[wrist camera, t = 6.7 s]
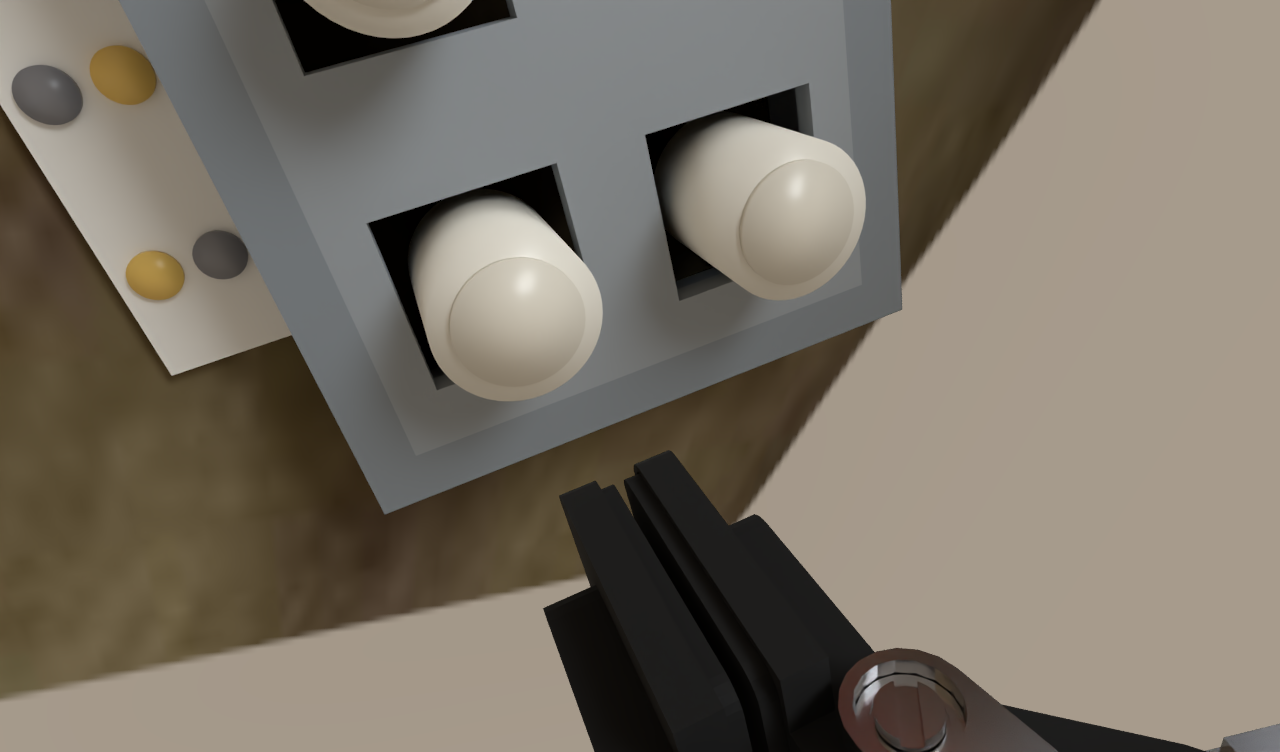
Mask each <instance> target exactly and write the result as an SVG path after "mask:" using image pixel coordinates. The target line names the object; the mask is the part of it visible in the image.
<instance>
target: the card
mask: <svg viewBox="0 0 1280 752" xmlns="http://www.w3.org/2000/svg"><path fill="white" fill-rule="evenodd" d="M0 105H1V107H2V108H3V110H4V111H5V113H6V115H7V116H8V118H9V119H10V121H11V122H12V124H13V126H14V127H15V129H16V130H17V132H18V134H19V135H20V137H21V138H22V140H23V141H24V143H25V145H26V146H27V148H28V149H29V151H30V153H31V154H32V156H33V157H34V159H35V160H36V162H37V164H38V165H39V167H40V168H41V170H42V172H43V173H44V175H45V176H46V178H47V179H48V181H49V183H50V184H51V186H52V187H53V189H54V190H55V192H56V194H57V195H58V197H59V198H60V200H61V202H62V203H63V205H64V206H65V208H66V209H67V211H68V213H69V214H70V216H71V217H72V219H73V221H74V222H75V224H76V225H77V227H78V228H79V230H80V232H81V233H82V235H83V236H84V238H85V239H86V241H87V243H88V244H89V246H90V247H91V249H92V251H93V252H94V254H95V255H96V257H97V258H98V260H99V262H100V263H101V265H102V266H103V268H104V270H105V271H106V273H107V274H108V276H109V277H110V279H111V281H112V282H113V284H114V285H115V287H116V288H117V290H118V292H119V293H120V295H121V296H122V298H123V300H124V301H125V303H126V304H127V306H128V307H129V309H130V311H131V312H132V314H133V315H134V317H135V319H136V320H137V322H138V323H139V325H140V326H141V328H142V330H143V331H144V333H145V334H146V336H147V337H148V339H149V341H150V342H151V344H152V345H153V347H154V349H155V350H156V352H157V353H158V355H159V356H160V358H161V360H162V361H163V363H164V364H165V366H166V368H167V369H168V371H169V372H170V374H171V375H172V376H173V375H176V374H179V373H182V372H185V371H187V370H190V369H193V368H196V367H199V366H202V365H205V364H208V363H211V362H214V361H217V360H220V359H223V358H226V357H229V356H232V355H234V354H237V353H240V352H243V351H246V350H249V349H252V348H255V347H258V346H261V345H264V344H267V343H270V342H273V341H276V340H279V339H281V338H284V337H287V336H290V335H292V334H291V332H290V330H289V328H288V327H287V325H286V323H285V321H284V319H283V317H282V315H281V313H280V311H279V309H278V307H277V305H276V303H275V301H274V300H273V298H272V296H271V294H270V292H269V290H268V288H267V286H266V284H265V282H264V280H263V278H262V276H261V274H260V272H259V271H258V269H257V267H256V265H255V263H254V261H253V259H252V257H251V255H250V253H249V251H248V249H247V247H246V245H245V244H244V242H243V240H242V238H241V236H240V234H239V232H238V230H237V228H236V226H235V224H234V222H233V220H232V218H231V216H230V215H229V213H228V211H227V209H226V207H225V205H224V203H223V201H222V199H221V197H220V195H219V193H218V191H217V189H216V188H215V186H214V184H213V182H212V180H211V178H210V176H209V174H208V172H207V170H206V168H205V166H204V164H203V162H202V160H201V159H200V157H199V155H198V153H197V151H196V149H195V147H194V145H193V143H192V141H191V139H190V137H189V135H188V133H187V131H186V130H185V128H184V126H183V124H182V122H181V120H180V118H179V116H178V114H177V112H176V110H175V108H174V106H173V104H172V103H171V101H170V99H169V97H168V95H167V93H166V91H165V89H164V87H163V85H162V83H161V81H160V79H159V77H158V75H157V74H156V72H155V70H154V68H153V66H152V64H151V62H150V60H149V58H148V56H147V54H146V52H145V50H144V48H143V47H142V45H141V43H140V41H139V39H138V37H137V35H136V33H135V31H134V29H133V27H132V25H131V23H130V21H129V19H128V18H127V16H126V14H125V12H124V10H123V8H122V6H121V4H120V2H119V0H0Z"/></svg>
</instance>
